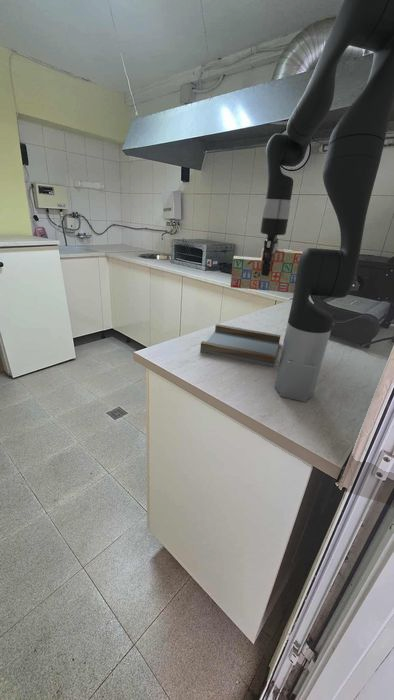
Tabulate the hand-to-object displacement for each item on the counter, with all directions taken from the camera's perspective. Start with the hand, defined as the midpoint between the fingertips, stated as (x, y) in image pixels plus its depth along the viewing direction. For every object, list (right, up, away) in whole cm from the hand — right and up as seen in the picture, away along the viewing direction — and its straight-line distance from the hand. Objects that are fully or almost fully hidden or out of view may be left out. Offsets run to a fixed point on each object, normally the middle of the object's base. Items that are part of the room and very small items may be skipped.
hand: (266, 273), depth 92 cm
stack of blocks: (-1, -5, +2) cm, 5 cm away
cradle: (-8, -24, -1) cm, 25 cm away
